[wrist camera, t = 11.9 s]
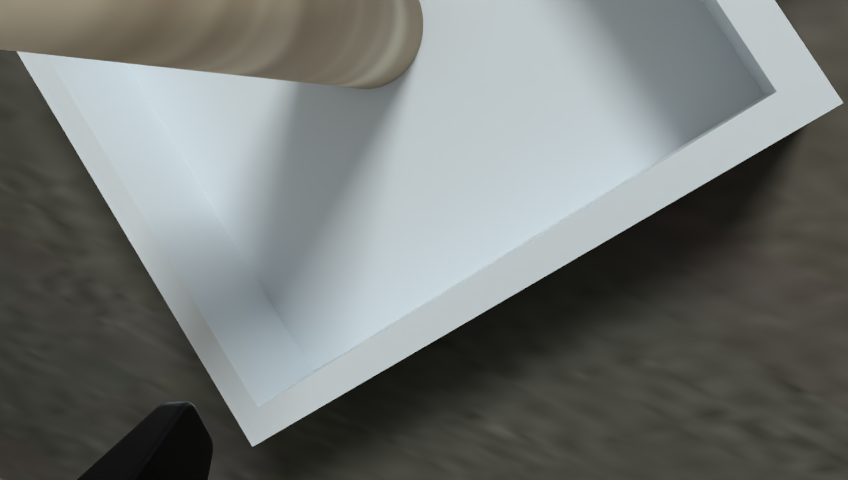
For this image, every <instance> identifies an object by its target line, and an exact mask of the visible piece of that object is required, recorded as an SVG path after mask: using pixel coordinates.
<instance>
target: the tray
mask: <svg viewBox="0 0 848 480" xmlns="http://www.w3.org/2000/svg"><path fill="white" fill-rule="evenodd" d="M419 2H420V5H421V9H422V14H423V35H422V40H421V44H420V47H419V50H418V53H417V55H416V57H415V58H414V60H413V62H412V63H411V65H410V66H409V68H408V69H407V70H406V71H405V72H404V73H403V74H402V75H401V76H400V77H399V78H397V79H396V80H394V81H393V82H391V83H389V84H387V85H385V86H382V87H379V88H373V89H358V88H349V87H340V86H331V85H321V84H312V83H303V82H294V81H285V80H276V79H266V78H257V77H248V76H239V75H230V74H221V73H211V72H202V71H193V70H184V69H175V68H166V67H156V66H147V65H138V64H129V63H120V62H111V61H101V60H92V59H83V58H74V57H65V56H56V55H46V54H37V53H28V52H19V51H17V53H18V55H19V56H20V58H21V60H22V61H23V63H24V65H25V66H26V68H27V70H28V71H29V73H30V75H31V76H32V78H33V80H34V81H35V83H36V85H37V86H38V88H39V90H40V91H41V93H42V95H43V96H44V98H45V100H46V101H47V103H48V105H49V107H50V108H51V110H52V112H53V113H54V115H55V117H56V118H57V120H58V122H59V123H60V125H61V127H62V128H63V130H64V132H65V133H66V135H67V137H68V138H69V140H70V142H71V143H72V145H73V147H74V148H75V150H76V152H77V153H78V155H79V157H80V159H81V160H82V162H83V164H84V165H85V167H86V169H87V170H88V172H89V174H90V175H91V177H92V179H93V180H94V182H95V184H96V185H97V187H98V189H99V190H100V192H101V194H102V195H103V197H104V199H105V200H106V202H107V204H108V205H109V207H110V209H111V211H112V212H113V214H114V216H115V217H116V219H117V221H118V222H119V224H120V226H121V227H122V229H123V231H124V232H125V234H126V236H127V237H128V239H129V241H130V242H131V244H132V246H133V247H134V249H135V251H136V252H137V254H138V256H139V257H140V259H141V261H142V263H143V264H144V266H145V268H146V269H147V271H148V273H149V274H150V276H151V278H152V279H153V281H154V283H155V284H156V286H157V288H158V289H159V291H160V293H161V294H162V296H163V298H164V299H165V301H166V303H167V304H168V306H169V308H170V309H171V311H172V313H173V315H174V316H175V318H176V320H177V321H178V323H179V325H180V326H181V328H182V330H183V331H184V333H185V335H186V336H187V338H188V340H189V341H190V343H191V345H192V346H193V348H194V350H195V351H196V353H197V355H198V356H199V358H200V360H201V361H202V363H203V365H204V366H205V368H206V370H207V372H208V373H209V375H210V377H211V378H212V380H213V382H214V383H215V385H216V387H217V388H218V390H219V392H220V393H221V395H222V397H223V398H224V400H225V402H226V403H227V405H228V407H229V408H230V410H231V412H232V413H233V415H234V417H235V418H236V420H237V422H238V424H239V425H240V427H241V429H242V430H243V432H244V434H245V435H246V437H247V439H248V440H249V442H250V444H251V445H252V447H253V446H255V445H257V444H258V443H260V442H262V441H264V440H265V439H267V438H269V437H270V436H272V435H274V434H276V433H277V432H279V431H281V430H282V429H284V428H286V427H288V426H289V425H291V424H293V423H294V422H296V421H298V420H300V419H301V418H303V417H305V416H306V415H308V414H310V413H312V412H313V411H315V410H317V409H318V408H320V407H322V406H324V405H325V404H327V403H329V402H330V401H332V400H334V399H336V398H337V397H339V396H341V395H343V394H344V393H346V392H348V391H349V390H351V389H353V388H355V387H356V386H358V385H360V384H361V383H363V382H365V381H367V380H368V379H370V378H372V377H373V376H375V375H377V374H379V373H380V372H382V371H384V370H385V369H387V368H389V367H391V366H392V365H394V364H396V363H397V362H399V361H401V360H403V359H404V358H406V357H408V356H409V355H411V354H413V353H415V352H416V351H418V350H420V349H422V348H423V347H425V346H427V345H428V344H430V343H432V342H434V341H435V340H437V339H439V338H440V337H442V336H444V335H446V334H447V333H449V332H451V331H452V330H454V329H456V328H458V327H459V326H461V325H463V324H464V323H466V322H468V321H470V320H471V319H473V318H475V317H476V316H478V315H480V314H482V313H483V312H485V311H487V310H488V309H490V308H492V307H494V306H495V305H497V304H499V303H501V302H502V301H504V300H506V299H507V298H509V297H511V296H513V295H514V294H516V293H518V292H519V291H521V290H523V289H525V288H526V287H528V286H530V285H531V284H533V283H535V282H537V281H538V280H540V279H542V278H543V277H545V276H547V275H549V274H550V273H552V272H554V271H555V270H557V269H559V268H561V267H562V266H564V265H566V264H567V263H569V262H571V261H573V260H574V259H576V258H578V257H579V256H581V255H583V254H585V253H586V252H588V251H590V250H592V249H593V248H595V247H597V246H598V245H600V244H602V243H604V242H605V241H607V240H609V239H610V238H612V237H614V236H616V235H617V234H619V233H621V232H622V231H624V230H626V229H628V228H629V227H631V226H633V225H634V224H636V223H638V222H640V221H641V220H643V219H645V218H646V217H648V216H650V215H652V214H653V213H655V212H657V211H658V210H660V209H662V208H664V207H665V206H667V205H669V204H671V203H672V202H674V201H676V200H677V199H679V198H681V197H683V196H684V195H686V194H688V193H689V192H691V191H693V190H695V189H696V188H698V187H700V186H701V185H703V184H705V183H707V182H708V181H710V180H712V179H713V178H715V177H717V176H719V175H720V174H722V173H724V172H725V171H727V170H729V169H731V168H732V167H734V166H736V165H737V164H739V163H741V162H743V161H744V160H746V159H748V158H750V157H751V156H753V155H755V154H756V153H758V152H760V151H762V150H763V149H765V148H767V147H768V146H770V145H772V144H774V143H775V142H777V141H779V140H780V139H782V138H784V137H786V136H787V135H789V134H791V133H792V132H794V131H796V130H798V129H799V128H801V127H803V126H804V125H806V124H808V123H810V122H811V121H813V120H815V119H816V118H818V117H820V116H822V115H823V114H825V113H827V112H829V111H830V110H832V109H834V108H835V107H837V106H839V105H841V104H842V103H843V102H842V100H841V99H840V97H839V96H838V94H837V93H836V91H835V90H834V88H833V87H832V85H831V84H830V82H829V81H828V79H827V78H826V76H825V75H824V73H823V72H822V70H821V69H820V67H819V66H818V64H817V63H816V61H815V60H814V58H813V57H812V55H811V54H810V52H809V51H808V49H807V48H806V46H805V45H804V43H803V42H802V40H801V39H800V37H799V36H798V34H797V33H796V31H795V30H794V28H793V27H792V25H791V24H790V22H789V21H788V19H787V18H786V16H785V15H784V13H783V12H782V10H781V9H780V7H779V6H778V4H777V3H776V1H775V0H419Z"/></svg>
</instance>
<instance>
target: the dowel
mask: <svg viewBox="0 0 848 480" xmlns="http://www.w3.org/2000/svg"><path fill="white" fill-rule="evenodd" d="M422 35H423V14H422V9H421V5H420V2H419V0H0V50H10V51H19V52H28V53H37V54H46V55H56V56H65V57H74V58H83V59H92V60H101V61H111V62H120V63H129V64H138V65H147V66H156V67H166V68H175V69H184V70H193V71H202V72H211V73H221V74H230V75H239V76H248V77H257V78H266V79H276V80H285V81H294V82H303V83H312V84H321V85H331V86H340V87H349V88H358V89H373V88H379V87H382V86H385V85H387V84H389V83H391V82H393V81H394V80H396V79H397V78H399V77H400V76H401V75H402V74H403V73H404V72H405V71H406V70H407V69H408V68H409V66H410V65H411V63H412V62H413V60H414V58H415V57H416V55H417V53H418V50H419V47H420V44H421V40H422Z"/></svg>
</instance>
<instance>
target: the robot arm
mask: <svg viewBox="0 0 848 480" xmlns="http://www.w3.org/2000/svg"><path fill="white" fill-rule="evenodd" d="M212 454H213V442H212V438H211V436H210V434H209V432H208V430H207V428H206V426H205V424H204V422H203V420H202V418H201V416H200V415H199V413H198V411H197V409H196V407H195V406H194V404H192V403H191V402H189V401H178V402H166V403H163V404H161V405H160V406H158V407H157V408H156V409H155V410H154V411H153V412H152V413H150V414H149V415H148V416H147V417H146V418H145V419H144V420H143V421H142V422H140V423H139V424H138V425H137V426H136V427H135V428H134V429H133V430H132V431H130V432H129V433H128V434H127V435H126V436H125V437H124V438H123V439H122V440H120V441H119V442H118V443H117V444H116V445H115V446H114V447H113V448H112V449H111V450H109V451H108V452H107V453H106V454H105V455H104V456H103V457H102V458H101V459H99V460H98V461H97V462H96V463H95V464H94V465H93V466H92V467H91V468H89V469H88V470H87V471H86V472H85V473H84V474H83V475H82V476H81V477H79V478H78V479H77V480H208V475H209V470H210V465H211V460H212Z"/></svg>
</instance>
